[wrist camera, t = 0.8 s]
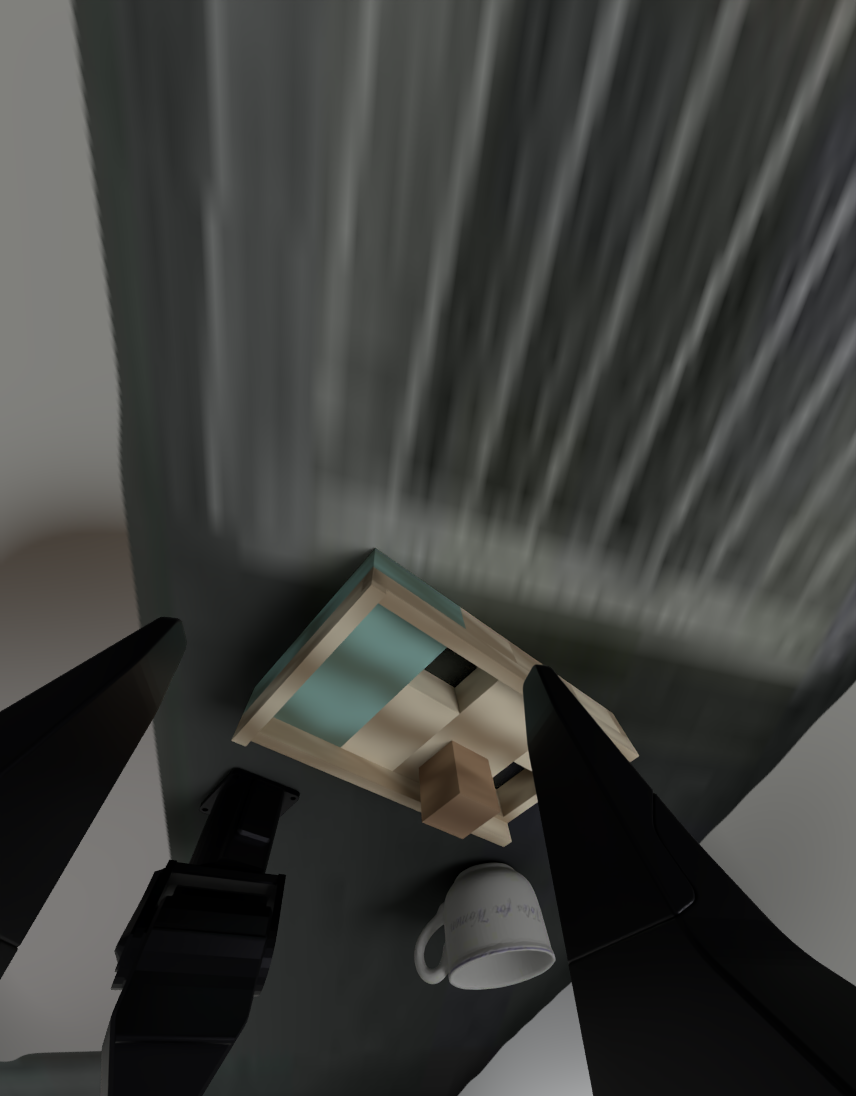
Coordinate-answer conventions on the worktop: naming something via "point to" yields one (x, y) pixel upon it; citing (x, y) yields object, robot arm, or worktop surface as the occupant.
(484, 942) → the teacup
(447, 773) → the walnut block
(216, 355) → the worktop surface
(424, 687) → the track
